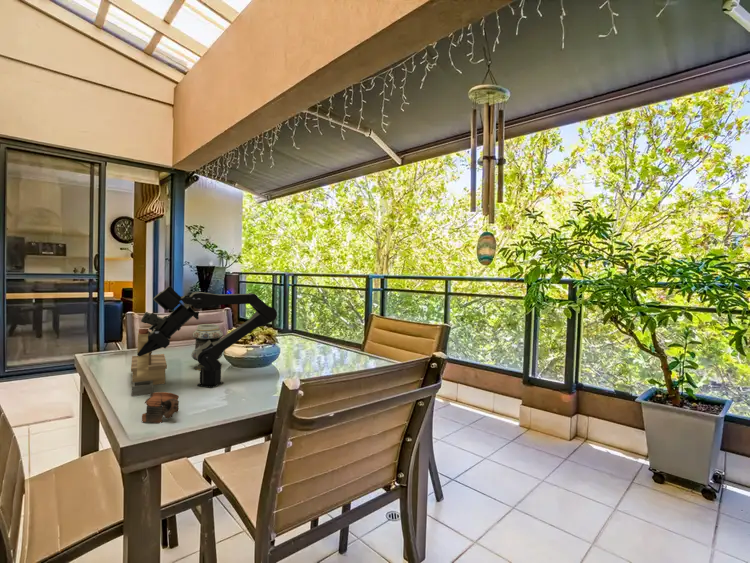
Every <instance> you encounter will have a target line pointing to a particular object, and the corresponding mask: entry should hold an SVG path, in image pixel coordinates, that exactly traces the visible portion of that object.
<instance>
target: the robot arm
mask: <svg viewBox="0 0 750 563" xmlns="http://www.w3.org/2000/svg"><path fill="white" fill-rule="evenodd" d="M152 300H153V301H154V302H155V303H156V304H158V305H159V306H160V307H161V308H162V309H163V310H165V311H168V310H169V311H172V312H171V313H169V314H168V315H165V316H163V317H161V316H158V314H157V313H154V312H148V311H145V312H144V314H143V316H142V318H141V319H140V322H141V323H143V324H147V325H150V326H149V327H148V332H149V334H148V341H147V342H146V344H145V345H144V346H143V347H142V348H141V350H140V351H139V352H138V350H137V351H136V352H137V355H138V356H142V355H144V354H147V353H149V352H152V353H153V352H154V351H157V350H159V349H162V348H163V349H167V347H168V346H170V345H171V344H170V342H171V341H170V340H171V339H172V336H174V334H176V332H177V331H178V332H179V331H180V330H181V328H182V327H183V326H184V325H185V324H186V323H187V322H188V321H189V320H191V319H192V318H193V317H194V319H196V320H199V318H200V317H199V314H200V312H199V311H196V310H194V309H197V310H202V309H206V308H210V307H214V306H223V305H224V306H225V305H250V306H251V307H252V309H253V310H254V311H255V312H254V313H253V314H252V316H251V317H250V318H249V319H248V320H246V321H245V322H243V323H242V324H240V325H238V326H237V327H236V328H234V329H233V330H232V331H230V332H229V333H227V334H226V335H223V336H222V337H221V338H220V340H218V341H216V342H213V343H212V342H211V341H210V340H209V341H207V342H206V343H205V344H204V345H202V346H199V347H200V348H199V349H198V350H197V352H196V358H197V360H198V361H197V362H198V365H199V364H201V365H203V366H204V367H202V368H201V370H199V383H197V385H196V386H197V387H202V388H210V389H213V388H216V387H218V386H220V385H222V384H224V381H222V363H221V362H220V358H221V357H220V355H221V354H222V355H223V353H224V352H225V351H226V350H227V349H229V348H230V347H232V345H234V344H236V343H237V342H238V341H240V340H241V339H243V338H244V337H246V336H247V335H249V334H250V333H252V332H253V331H254V330H256V329H257V328H260V327H263V326H265V325H269V324H270V323H273V322H274V321H275V320H276V319H277V315H278V312H277V309H275V308H274V307H272V306H269V305H267V303H265V302H264V301H263V300H262V299H261V298H259V296H258V294H255V293H253V292H250V293H249V292H248V293H229V294H228V293H224V294H222V293H221V294H216V293H210V292H202V291H193V292H192V293H191V294H189V295H180V294H178V293H177V292H176V290H174V288H173V287H171V286H170V285H168V286H167V287H166V288H165V289H163V290H162V291H160V292H158V294H156V295H155V296H154V297H153V298H152ZM181 301H182V303H184V304H185V305H188V306H187V307H186V306H185V305H184V304H182V303H181ZM189 305H190V306H189ZM191 306H192V307H191ZM193 308H194V309H193ZM137 355H136V356H137ZM219 357H220V358H219ZM218 358H219V359H218Z"/></svg>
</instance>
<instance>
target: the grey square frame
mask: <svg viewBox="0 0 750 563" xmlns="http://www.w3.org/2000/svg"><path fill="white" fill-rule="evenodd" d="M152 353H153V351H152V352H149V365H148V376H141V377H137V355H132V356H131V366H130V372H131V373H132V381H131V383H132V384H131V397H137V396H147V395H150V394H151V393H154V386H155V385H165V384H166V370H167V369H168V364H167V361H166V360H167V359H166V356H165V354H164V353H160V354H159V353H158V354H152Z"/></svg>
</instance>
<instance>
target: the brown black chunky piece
mask: <svg viewBox="0 0 750 563" xmlns="http://www.w3.org/2000/svg"><path fill="white" fill-rule="evenodd" d="M149 396H150V397H148V398H147V399H146V400H145V402H144V404H145V405H146V410H145V411H146V412H145V413H142V415H141V422H142V421H143V422H142V423H146V422H147V423H156V424H157V423H160V422H161V423H162V422H163V418H165V419H171V418H173V417H174V414H175V412H176V413H177V412H179V409H180V408H179V403H180V401H179V398H180V396H179V395H178V394H175V393H172V392H167V391H166V392H165V391H157V392H156V391H155V392H153V393H151V394H149Z"/></svg>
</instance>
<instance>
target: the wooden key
mask: <svg viewBox="0 0 750 563" xmlns="http://www.w3.org/2000/svg"><path fill="white" fill-rule="evenodd" d="M148 331H149V328H139V329H138V333H137V351H138V352H139V351H140V350H141V348H142V347H143V346H144V345H145V344H146V342H147V341H148V334H149V332H150V331H149V332H148ZM136 356H137V377H141V376H148V365H149V353H147V354H144V355H142V356H138V355H136Z"/></svg>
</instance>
